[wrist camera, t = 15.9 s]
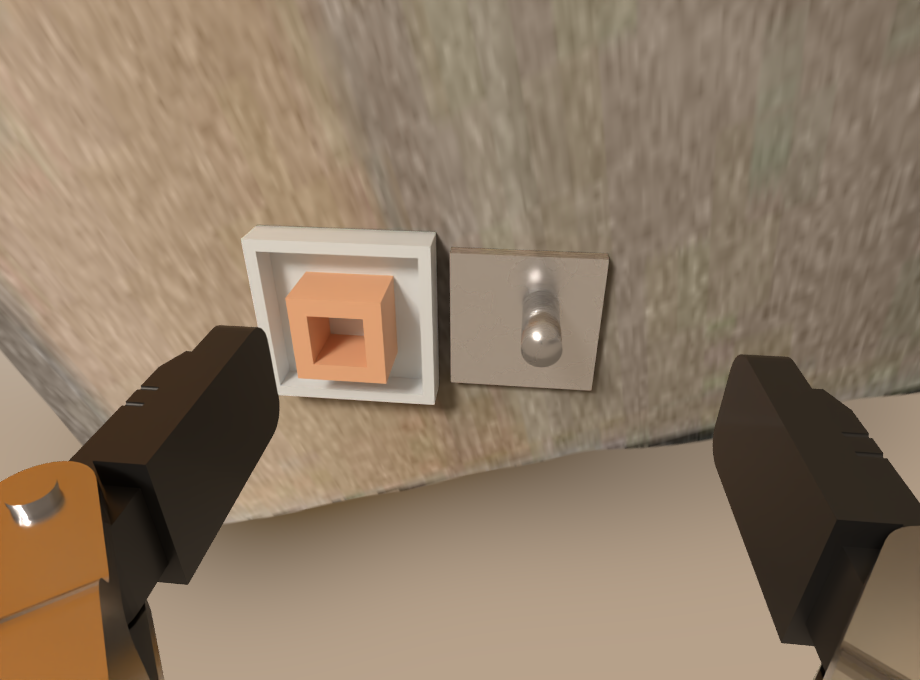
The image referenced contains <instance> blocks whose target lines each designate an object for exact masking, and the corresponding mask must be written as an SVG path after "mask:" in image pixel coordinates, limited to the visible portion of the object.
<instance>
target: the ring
mask: <svg viewBox="0 0 920 680" xmlns="http://www.w3.org/2000/svg"><path fill="white" fill-rule="evenodd" d="M285 300H286V306H287V312H288V319H289V325H290V331H291V337H292V343H293V349H294V356H295V362H296V368H297V374H298V378H302V379H318V380H334V381H350V382H365V383H381V384H386V383H387V380H388V378H389V375H390V372H391V369H392V367H393V364H394V361H395V358H396V356H397V353H398V346H397V329H396V312H395V295H394V278H393V276H390V275H369V274H347V273H326V272H305V273H304V275H303V276H302V277H301V279H300V280H299V281H298V282H297V284H296V285H295V286H294V288H293V289H292V290H291V291H290V293H289V294H288V295H287V297H286V298H285ZM329 318H348V319H363V328H364V336H360V335H342V334H331V332H330V323H329Z"/></svg>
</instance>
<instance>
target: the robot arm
mask: <svg viewBox="0 0 920 680" xmlns="http://www.w3.org/2000/svg"><path fill="white" fill-rule="evenodd" d="M278 418H279V396H278V391H277V386H276V381H275V375H274V370H273V365H272V359H271V354H270V349H269V343H268V339H267V336H266V333H265V332H264V330H263V329H262V328H259V327H242V326H223V325H219V326H216V327H214V328H213V329H212V330H211V331H210V332H209V333H208V334H207V336H206V337H205V338H204V339H203V340H202V341H201V342H200V343H199V344H198V345H197V346H196V348H195V349H194V350H193V351H192V352H191V351H186V352H184V353H182V354H180V355H179V356H177V357H175V358H174V359H172V360H170V361H168V362H167V363H165V364H163V365H161V366H160V367H158V369H157V370H156V371H155V372H154V373H153V374H152V375H151V376H150V377H149V378H148V379H147V380H146V381H145V382H144V383H143V384H142V385H141V390H136V391H135V392H134V393H133V394H132V396H131V397H130V398H129V399H128V400H127V401H126V405H125V406H121V407H120V408H119V409H118V410H117V411H116V412H115V413H114V414H113V415H112V416H111V417H110V418H109V419H108V420H107V421H106V423H105V424H104V425H103V426H102V427H101V428H100V429H99V430H98V431H97V432H96V433H95V434H94V435H93V436H92V437H91V438H90V439H89V440H88V441H87V442H86V443H85V444H84V445H83V446H82V447H81V449H80V450H79V451H78V452H77V453H76V454H75V455H74V456H73V457H72V458H71V459H70V460H69V461H57V462H50V463H45V464H41V465H37V466H34V467H31V468H28V469H25V470H22V471H20V472H18V473H16V474H14V475H12V476H10V477H8V478H6V479H4V480H3V481H1V482H0V680H164V676H163V670H162V665H161V660H160V655H159V649H158V645H157V639H156V634H155V628H154V623H153V618H152V613H151V609H150V606H149V604H148V601H147V598H148V596H149V594H150V593H151V591H152V589H153V588H154V587H155V585H156V583H157V582H164V583H175V584H185V585H188V584H189V582H190V580H191V578H192V577H193V575H194V573H195V571H196V570H197V568H198V566H199V564H200V563H201V561H202V559H203V557H204V556H205V554H206V552H207V550H208V549H209V547H210V545H211V543H212V542H213V540H214V538H215V536H216V535H217V533H218V531H219V529H220V528H221V526H222V524H223V522H224V521H225V519H226V517H227V515H228V514H229V512H230V510H231V508H232V507H233V505H234V503H235V501H236V500H237V498H238V496H239V494H240V492H241V491H242V489H243V487H244V485H245V484H246V482H247V480H248V478H249V477H250V475H251V473H252V471H253V470H254V468H255V466H256V464H257V463H258V461H259V459H260V457H261V456H262V454H263V452H264V450H265V449H266V447H267V445H268V443H269V442H270V440H271V438H272V436H273V434H274V432H275V430H276V427H277V423H278ZM868 435H869V433H868V432H867V430H866V429H865V428H864V426H863V425H862V424H861V422H860V421H859V420H858V418H857V417H856V415H855V414H854V413H853V411H852V410H851V409H849V408H848V407H847V406H845V405H844V404H842V403H841V402H840V401H838V400H837V399H836V398H834V397H833V396H832V395H830V394H829V393H827V392H826V391H825V390H823V389H812V388H811V386H810V385H809V383H808V382H807V380H806V379H805V378H804V376H803V375H802V373H801V372H800V370H799V369H798V367H797V366H796V364H795V363H794V361H793V360H792V359H791V358H789V357H779V356H761V355H742V354H741V355H738V356H737V357H736V358H735V360H734V362H733V364H732V367H731V370H730V374H729V377H728V381H727V385H726V388H725V392H724V396H723V399H722V403H721V406H720V410H719V414H718V417H717V421H716V425H715V429H714V434H713V455H714V462H715V465H716V468H717V471H718V474H719V477H720V479H721V482H722V485H723V487H724V490H725V493H726V496H727V498H728V501H729V504H730V506H731V509H732V511H733V514H734V517H735V520H736V522H737V525H738V528H739V530H740V533H741V536H742V538H743V541H744V544H745V547H746V549H747V552H748V555H749V557H750V560H751V562H752V566H753V568H754V571H755V574H756V576H757V579H758V581H759V584H760V587H761V590H762V592H763V595H764V598H765V600H766V603H767V606H768V608H769V611H770V614H771V617H772V619H773V622H774V625H775V627H776V630H777V633H778V635H779V638H780V641H781V643H787V644H798V645H809V646H815V648H816V651H817V653H818V656H819V658H820V660H821V665H820V667H819V669H818V671H817V673H816V675H815V676H814V679H813V680H920V503H919V502H918V500H917V499H916V498H915V496H914V495H913V493H912V492H911V490H910V489H909V488H908V486H907V485H906V484H905V482H904V481H903V480H902V478H901V477H900V476H899V474H898V473H897V472H896V470H895V469H894V467H893V466H892V465H891V463H890V462H889V461H888V459H887V458H883V452H882V451H881V450H880V448H879V447H878V446H877V444H876V443H875V441H874V440H873V439H872V438H869V437H868Z"/></svg>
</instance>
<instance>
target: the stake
mask: <svg viewBox="0 0 920 680" xmlns="http://www.w3.org/2000/svg"><path fill="white" fill-rule="evenodd" d="M608 264H609V257H608V253H585V252H560V251H535V250H510V249H485V248H460V247H451V251H450V341H451V382H456V383H473V384H490V385H506V386H523V387H539V388H556V389H573V390H589V391H591V389H592V382H593V374H594V367H595V360H596V352H597V345H598V338H599V330H600V323H601V316H602V308H603V301H604V294H605V286H606V279H607V272H608Z"/></svg>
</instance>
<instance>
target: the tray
mask: <svg viewBox="0 0 920 680" xmlns="http://www.w3.org/2000/svg"><path fill="white" fill-rule="evenodd" d="M241 242H242V247H243V252H244V258H245V263H246V268H247V273H248V278H249V283H250V288H251V293H252V298H253V304H254V309H255V314H256V319H257V324H258V327H259V328H262V329H263V330H264V332H265V333H266V336H267V339H268V343H269V349H270V354H271V359H272V365H273V370H274V375H275V381H276V386H277V391H278V395H286V396H302V397H318V398H334V399H349V400H365V401H381V402H396V403H412V404H428V405H435V401H436V396H437V392H438V388H439V350H438V303H437V255H436V232H423V231H397V230H371V229H344V228H318V227H292V226H265V225H256V226H255V227H254V228H253V229H252V230H250V231H249V232H248V233H247V234H246V235H245V236H244V237H243V238H241ZM305 272H326V273H347V274H369V275H390V276H393V278H394V295H395V312H396V329H397V346H398V353H397V356H396V358H395V361H394V364H393V367H392V369H391V372H390V375H389V378H388V380H387V383H386V384H381V383H365V382H350V381H334V380H318V379H302V378H298V374H297V368H296V362H295V356H294V349H293V343H292V337H291V331H290V325H289V319H288V312H287V306H286V300H285V298H286V297H287V295H288V294H289V293H290V291H291V290H292V289H293V288H294V286H295V285H296V284H297V282H298V281H299V280H300V279H301V277H302V276H303V275H304V273H305ZM329 323H330V332H331V334H342V335H360V336H364V328H363V319H348V318H329Z"/></svg>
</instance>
